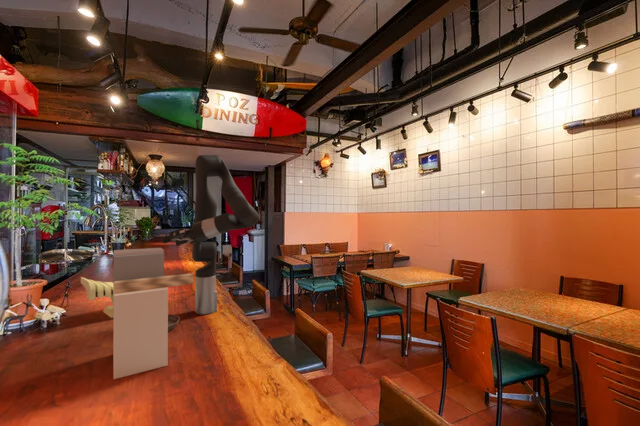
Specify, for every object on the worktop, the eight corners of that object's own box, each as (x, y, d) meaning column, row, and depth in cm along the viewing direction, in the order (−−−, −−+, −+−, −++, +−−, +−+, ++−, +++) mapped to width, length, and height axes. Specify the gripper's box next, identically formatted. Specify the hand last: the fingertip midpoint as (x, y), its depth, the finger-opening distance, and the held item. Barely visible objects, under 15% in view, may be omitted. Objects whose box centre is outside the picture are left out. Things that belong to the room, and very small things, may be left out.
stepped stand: (160, 343, 109) (160, 247, 109) (167, 365, 94) (168, 253, 94) (113, 354, 101) (113, 249, 101) (113, 379, 86) (114, 257, 86)
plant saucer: (120, 332, 119) (120, 325, 119) (160, 318, 135) (160, 311, 135) (150, 341, 112) (150, 333, 111) (189, 325, 128) (189, 318, 128)
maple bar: (191, 281, 104) (191, 273, 104) (193, 283, 101) (193, 274, 101) (114, 291, 91) (114, 281, 91) (114, 293, 88) (114, 283, 88)
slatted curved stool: (89, 325, 126) (90, 282, 125) (80, 316, 136) (80, 276, 136) (164, 307, 148) (164, 271, 148) (151, 301, 159) (152, 267, 159)
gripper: (214, 223, 125) (178, 236, 125) (196, 216, 111) (156, 230, 112) (218, 240, 123) (182, 253, 124) (200, 235, 109) (159, 249, 110)
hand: (169, 242), depth 118 cm, fingers open, 8 cm apart
